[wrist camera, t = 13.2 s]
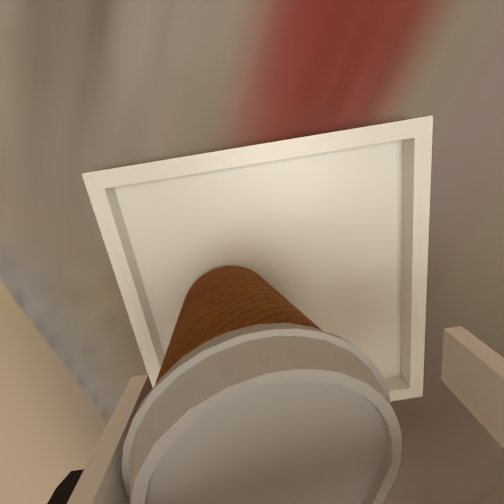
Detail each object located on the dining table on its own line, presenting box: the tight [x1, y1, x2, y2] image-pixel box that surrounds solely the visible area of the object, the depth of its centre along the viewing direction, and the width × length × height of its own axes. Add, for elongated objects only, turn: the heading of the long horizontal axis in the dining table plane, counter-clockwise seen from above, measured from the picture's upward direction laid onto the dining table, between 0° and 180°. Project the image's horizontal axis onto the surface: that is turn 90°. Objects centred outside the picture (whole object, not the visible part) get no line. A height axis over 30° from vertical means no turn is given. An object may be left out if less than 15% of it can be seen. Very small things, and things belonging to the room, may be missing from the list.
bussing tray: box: [82, 116, 433, 401], centre depth 20 cm, size 20×20×2 cm
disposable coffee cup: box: [121, 266, 402, 504], centre depth 14 cm, size 10×10×12 cm
